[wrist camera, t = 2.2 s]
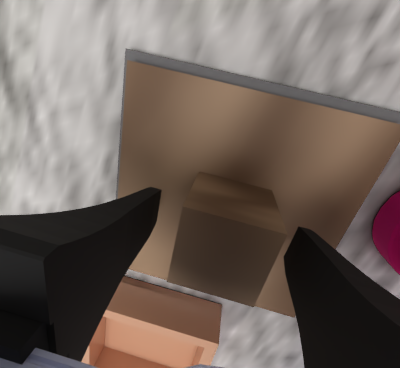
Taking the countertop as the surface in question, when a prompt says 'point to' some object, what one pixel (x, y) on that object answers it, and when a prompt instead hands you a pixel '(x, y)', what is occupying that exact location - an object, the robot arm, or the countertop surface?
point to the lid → (241, 179)
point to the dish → (154, 329)
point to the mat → (255, 85)
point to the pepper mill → (388, 231)
